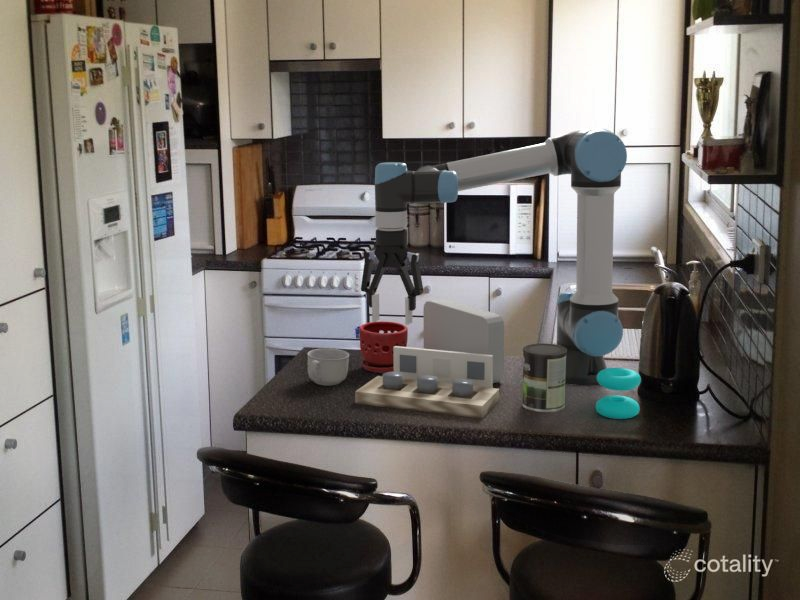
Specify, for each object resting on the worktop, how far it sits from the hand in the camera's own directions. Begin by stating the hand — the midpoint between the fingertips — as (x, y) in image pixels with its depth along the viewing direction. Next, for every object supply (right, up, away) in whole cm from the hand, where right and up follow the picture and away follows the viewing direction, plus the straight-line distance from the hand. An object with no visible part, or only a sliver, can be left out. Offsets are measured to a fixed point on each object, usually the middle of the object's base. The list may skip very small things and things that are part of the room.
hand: (392, 321), depth 233 cm
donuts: (+52, -21, -9) cm, 57 cm away
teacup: (-18, -17, +16) cm, 29 cm away
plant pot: (-3, -14, +29) cm, 32 cm away
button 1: (0, -16, +3) cm, 16 cm away
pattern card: (+13, -17, +11) cm, 24 cm away
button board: (+9, -19, +1) cm, 21 cm away
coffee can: (+36, -20, -3) cm, 42 cm away
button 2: (+17, -17, -3) cm, 24 cm away
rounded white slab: (+18, -14, +25) cm, 35 cm away
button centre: (+9, -17, 0) cm, 19 cm away
